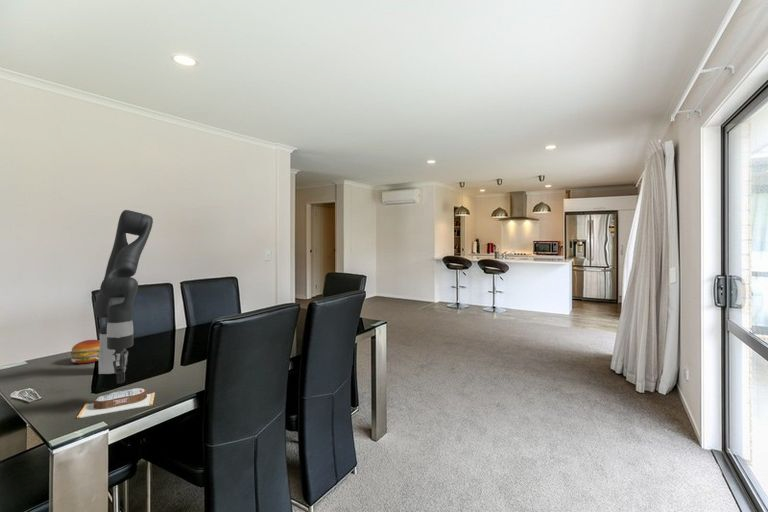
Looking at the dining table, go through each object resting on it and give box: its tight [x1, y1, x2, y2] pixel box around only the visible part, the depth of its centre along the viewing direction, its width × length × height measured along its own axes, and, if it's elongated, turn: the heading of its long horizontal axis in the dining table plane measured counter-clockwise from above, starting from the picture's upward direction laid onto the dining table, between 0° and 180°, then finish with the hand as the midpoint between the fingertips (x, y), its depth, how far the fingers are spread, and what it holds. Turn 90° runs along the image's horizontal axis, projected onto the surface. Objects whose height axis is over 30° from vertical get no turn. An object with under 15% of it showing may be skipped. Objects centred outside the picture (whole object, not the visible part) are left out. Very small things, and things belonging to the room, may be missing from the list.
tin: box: [93, 387, 148, 409], centre depth 123 cm, size 15×3×8 cm
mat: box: [76, 392, 156, 420], centre depth 121 cm, size 20×11×1 cm, turn 119°
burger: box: [70, 339, 100, 364], centre depth 169 cm, size 13×14×10 cm
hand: (120, 382), depth 124 cm, fingers closed
